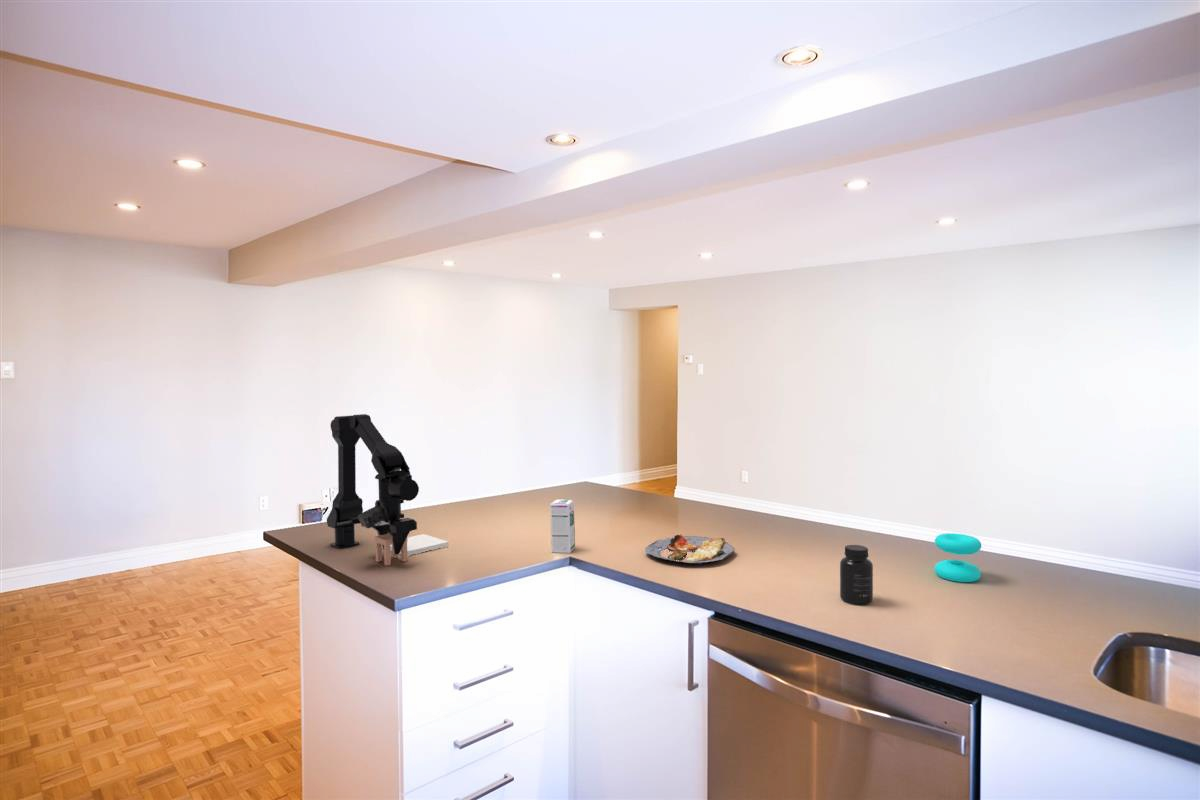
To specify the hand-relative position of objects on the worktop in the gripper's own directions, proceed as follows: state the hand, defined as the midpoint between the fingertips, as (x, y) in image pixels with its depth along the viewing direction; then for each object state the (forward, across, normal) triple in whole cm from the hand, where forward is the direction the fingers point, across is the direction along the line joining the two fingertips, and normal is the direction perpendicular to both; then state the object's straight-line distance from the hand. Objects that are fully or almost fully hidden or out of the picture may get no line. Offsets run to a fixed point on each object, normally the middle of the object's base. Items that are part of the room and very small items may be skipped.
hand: (391, 552), depth 177 cm
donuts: (+3, +119, +87) cm, 147 cm away
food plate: (+3, +58, +60) cm, 84 cm away
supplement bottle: (+3, +107, +55) cm, 120 cm away
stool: (+2, 0, 0) cm, 2 cm away
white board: (+3, -8, +12) cm, 15 cm away
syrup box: (+3, +28, +39) cm, 48 cm away
